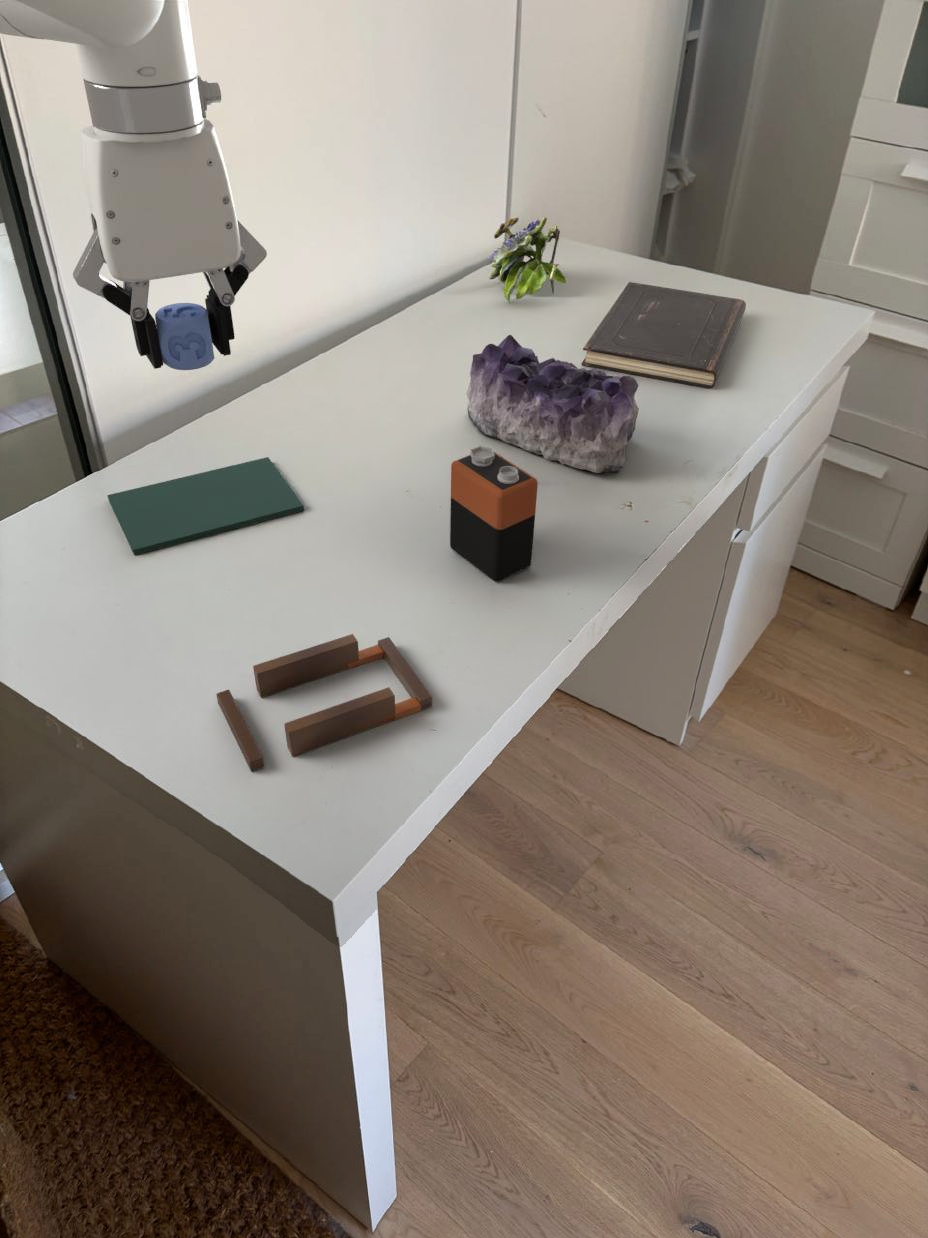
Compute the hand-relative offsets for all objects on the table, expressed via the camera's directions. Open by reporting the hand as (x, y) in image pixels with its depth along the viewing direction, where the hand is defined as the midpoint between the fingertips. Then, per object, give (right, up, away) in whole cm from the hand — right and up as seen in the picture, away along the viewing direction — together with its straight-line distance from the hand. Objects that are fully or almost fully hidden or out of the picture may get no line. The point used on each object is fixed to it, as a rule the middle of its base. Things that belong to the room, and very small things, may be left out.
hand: (188, 352), depth 78 cm
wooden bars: (+12, -28, -6) cm, 31 cm away
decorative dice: (0, -1, +1) cm, 1 cm away
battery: (+25, -16, +8) cm, 31 cm away
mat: (-2, -11, +14) cm, 17 cm away
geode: (+31, -2, +25) cm, 40 cm away
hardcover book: (+48, +14, +45) cm, 67 cm away
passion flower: (+31, +25, +57) cm, 70 cm away
